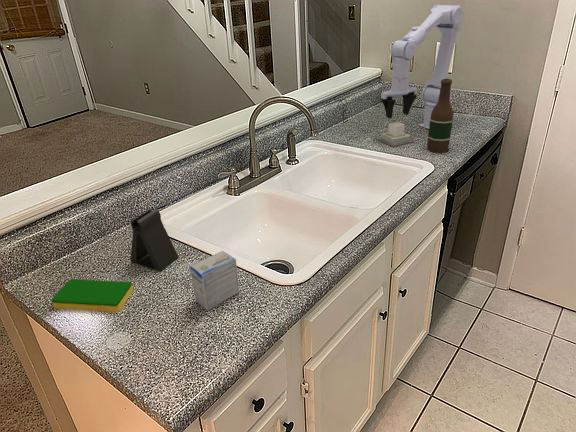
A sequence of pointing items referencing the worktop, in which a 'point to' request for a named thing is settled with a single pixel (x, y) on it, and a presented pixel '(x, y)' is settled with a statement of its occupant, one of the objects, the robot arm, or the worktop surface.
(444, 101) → the beer bottle
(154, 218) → the phone stand
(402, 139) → the socket block
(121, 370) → the worktop surface
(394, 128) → the plug
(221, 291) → the medicine box
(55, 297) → the dish sponge
